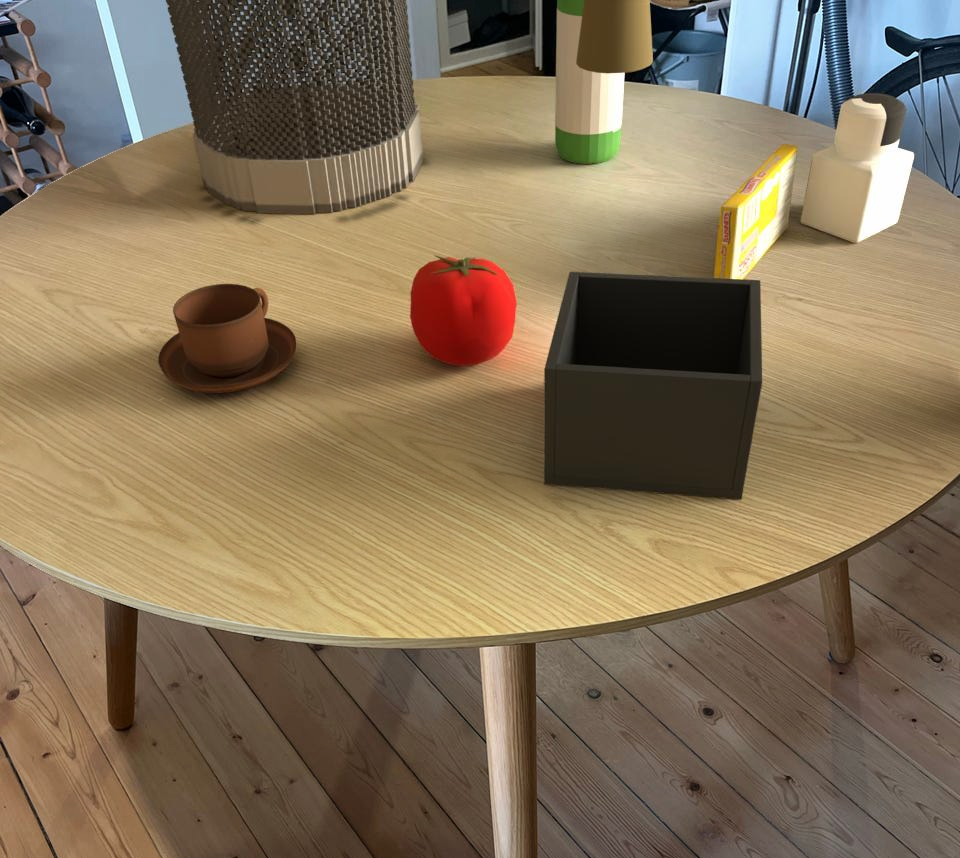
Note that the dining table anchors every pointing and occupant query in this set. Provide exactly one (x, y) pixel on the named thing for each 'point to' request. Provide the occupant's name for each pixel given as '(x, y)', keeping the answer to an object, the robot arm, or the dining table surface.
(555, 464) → the bin
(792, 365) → the dining table surface
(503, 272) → the tomato
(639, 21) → the brown pawn
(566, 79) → the wine bottle
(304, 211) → the wastebasket
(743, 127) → the dining table surface
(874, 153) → the medicine bottle
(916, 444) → the dining table surface
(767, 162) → the candy box
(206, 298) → the cup and saucer
